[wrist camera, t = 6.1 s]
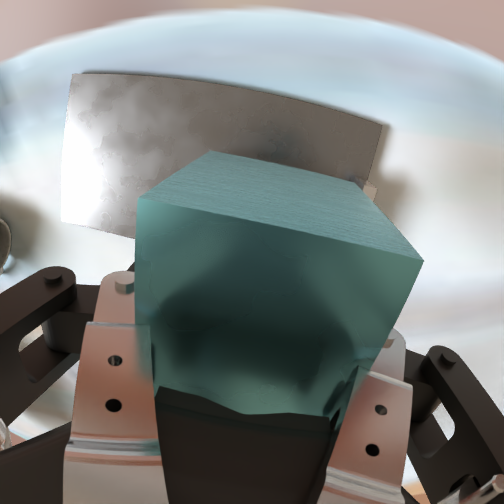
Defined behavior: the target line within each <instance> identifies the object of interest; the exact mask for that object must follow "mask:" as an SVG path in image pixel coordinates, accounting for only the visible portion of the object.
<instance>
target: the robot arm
mask: <svg viewBox="0 0 504 504" xmlns="http://www.w3.org/2000/svg"><path fill="white" fill-rule="evenodd" d="M134 274H135V262H134V263H133V264H132V265H131V266H130V267H129V269H128V270H127V271H118V272H113V273H111V274H108V275H107V276H105V277H104V278H103V280H102V281H101V285H80V284H76V276H75V274H74V272H73V271H72V270H70V269H68V268H65V267H60V266H53V267H47V268H44V269H42V270H40V271H38V272H36V273H34V274H33V275H31V276H29V277H27V278H26V279H24V280H22V281H21V282H19V283H17V284H16V285H14V286H12V287H10V288H9V289H7V290H6V291H4V292H2V293H1V294H0V504H420V503H418V502H417V501H416V500H415V499H414V498H413V497H412V496H411V495H410V494H409V493H408V492H407V491H406V490H405V489H404V488H403V487H402V486H401V484H402V479H403V473H404V467H405V460H406V453H407V455H408V457H409V459H410V461H411V463H412V465H413V467H414V469H415V471H416V473H417V475H418V478H419V480H420V482H421V484H422V486H423V488H424V490H425V492H426V495H427V497H428V499H429V501H430V503H431V504H504V416H503V415H502V413H501V412H500V410H499V409H498V407H497V406H496V405H495V403H494V402H493V400H492V399H491V398H490V396H489V395H488V393H487V392H486V391H485V389H484V388H483V387H482V385H481V384H480V382H479V381H478V380H477V378H476V377H475V376H474V374H473V373H472V372H471V370H470V369H469V368H468V367H467V365H466V364H465V363H464V361H463V360H462V359H461V358H460V356H459V355H458V354H457V353H455V352H454V351H453V350H451V349H449V348H447V347H444V346H439V345H438V346H433V347H431V348H430V350H429V351H428V353H427V354H426V356H424V355H421V354H418V353H415V352H413V351H410V350H407V349H406V342H405V340H404V338H403V336H402V335H401V334H400V333H399V332H398V331H397V330H395V329H394V328H392V330H391V332H390V334H389V336H388V338H387V340H386V342H385V344H384V345H383V347H382V349H381V351H380V353H379V355H378V356H377V358H376V360H375V362H374V363H373V365H372V367H371V369H367V368H365V367H362V366H359V365H357V366H356V368H354V369H353V370H352V372H351V374H350V376H349V378H348V379H347V381H346V383H345V385H344V388H343V390H342V392H341V394H340V396H339V398H338V399H337V401H336V403H335V404H334V406H333V408H332V409H331V411H330V412H329V414H328V416H327V417H325V416H315V415H306V414H298V413H290V412H287V413H272V414H242V413H239V412H237V411H234V410H232V409H229V408H227V407H225V406H222V405H220V404H218V403H215V402H213V401H211V400H209V399H206V398H204V397H202V396H198V395H194V394H190V393H186V392H182V391H178V390H174V389H170V388H167V387H163V386H159V388H158V391H157V393H156V396H155V397H154V390H153V376H152V360H151V338H150V324H135V303H134ZM39 325H41V326H42V330H43V334H42V335H41V336H40V337H39V338H37V339H36V340H35V341H33V342H32V343H31V344H29V345H28V346H27V347H26V348H24V349H23V350H22V351H21V352H19V351H18V348H19V344H20V342H21V340H22V339H23V337H25V336H26V335H27V334H29V333H30V332H31V331H33V330H34V329H35V328H37V327H38V326H39ZM78 360H80V361H79V367H78V374H77V381H76V388H75V396H74V405H73V414H72V421H71V422H69V423H67V424H64V425H62V426H60V427H57V428H55V429H53V430H51V431H48V432H46V433H44V434H41V435H39V436H37V437H34V438H32V439H29V440H27V441H24V442H22V443H20V444H17V445H15V446H12V447H10V448H7V449H4V443H3V442H4V440H5V437H6V428H7V427H8V426H9V425H10V424H11V423H12V422H13V421H14V420H15V419H16V418H17V417H18V416H19V415H20V414H21V413H22V412H23V411H24V410H25V409H26V408H28V407H29V406H30V405H31V404H32V403H33V402H34V401H35V400H36V399H37V398H38V397H39V396H40V395H41V394H42V393H44V392H45V391H46V390H47V389H48V388H49V387H50V386H51V385H52V384H53V383H54V382H55V381H57V380H58V379H59V378H60V377H61V376H62V375H63V374H64V373H65V372H66V371H67V370H69V369H70V368H71V367H72V366H73V365H74V364H75V363H76V362H77V361H78ZM441 402H442V404H443V405H444V407H445V408H446V410H447V411H448V413H449V415H450V416H451V418H452V420H453V421H454V424H455V431H454V434H453V436H452V437H451V438H450V439H449V440H447V438H446V436H445V435H444V433H443V431H442V429H441V428H440V426H439V424H438V423H437V421H436V419H435V418H434V416H433V414H432V413H433V412H434V411H435V409H436V408H437V407H438V406H439V404H440V403H441Z"/></svg>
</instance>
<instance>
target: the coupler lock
mask: <svg viewBox="0 0 504 504" xmlns="http://www.w3.org/2000/svg"><path fill="white" fill-rule="evenodd" d="M423 262H424V260H423V259H422V257H421V256H420V255H419V254H418V253H417V251H416V250H415V249H414V248H413V247H412V245H411V244H410V243H409V242H408V241H407V240H406V238H405V237H404V236H403V235H402V234H401V233H400V231H399V230H398V229H397V228H396V227H395V226H394V225H393V223H392V222H391V221H390V220H389V219H388V218H387V217H386V216H385V214H384V213H383V212H382V211H381V210H380V209H379V208H378V207H377V206H376V205H375V204H374V203H373V201H372V200H371V199H370V198H369V197H368V196H367V195H366V194H365V193H364V192H363V191H362V190H361V189H360V188H359V187H358V186H357V185H356V184H355V183H354V182H350V181H347V180H343V179H339V178H335V177H331V176H327V175H323V174H319V173H315V172H311V171H307V170H303V169H299V168H294V167H290V166H286V165H281V164H277V163H272V162H267V161H263V160H258V159H253V158H248V157H243V156H238V155H232V154H227V153H221V152H216V151H209V152H208V153H206V154H204V155H203V156H201V157H199V158H198V159H196V160H195V161H193V162H191V163H190V164H188V165H187V166H185V167H184V168H182V169H180V170H179V171H177V172H176V173H174V174H173V175H171V176H170V177H168V178H167V179H165V180H164V181H162V182H161V183H159V184H158V185H156V186H155V187H153V188H152V189H150V190H149V191H147V192H146V193H144V194H143V195H141V196H140V197H139V198H138V202H137V217H136V237H135V274H134V303H135V324H150V338H151V360H152V376H153V390H154V397H155V396H156V393H157V391H158V388H159V386H163V387H167V388H170V389H174V390H178V391H182V392H186V393H190V394H194V395H198V396H202V397H204V398H206V399H209V400H211V401H213V402H215V403H218V404H220V405H222V406H225V407H227V408H229V409H232V410H234V411H237V412H239V413H242V414H272V413H287V412H290V413H298V414H306V415H315V416H325V417H327V416H328V414H329V412H330V411H331V409H332V408H333V406H334V404H335V403H336V401H337V399H338V398H339V396H340V394H341V392H342V390H343V388H344V385H345V383H346V381H347V379H348V378H349V376H350V374H351V372H352V370H353V369H354V368H356V366H357V365H359V366H362V367H365V368H367V369H371V367H372V365H373V363H374V362H375V360H376V358H377V356H378V355H379V353H380V351H381V349H382V347H383V345H384V344H385V342H386V340H387V338H388V336H389V334H390V332H391V330H392V328H393V326H394V325H395V323H396V321H397V319H398V317H399V315H400V313H401V311H402V308H403V306H404V304H405V302H406V300H407V298H408V296H409V294H410V292H411V289H412V287H413V285H414V283H415V281H416V278H417V276H418V274H419V271H420V269H421V267H422V264H423Z"/></svg>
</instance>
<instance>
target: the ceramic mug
mask: <svg viewBox="0 0 504 504" xmlns="http://www.w3.org/2000/svg"><path fill="white" fill-rule="evenodd" d="M10 247H11V232H10V229H9V227H8V225H7V223H6V222H4V221H3V220H2V219H0V275H1V274H2V273H3V266H4V264H5V262H6V260H7V258H8V255H9V252H10Z"/></svg>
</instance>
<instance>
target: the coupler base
mask: <svg viewBox="0 0 504 504" xmlns="http://www.w3.org/2000/svg"><path fill="white" fill-rule="evenodd" d="M381 129H382V125H380V124H377V123H374V122H371V121H368V120H365V119H362V118H359V117H356V116H352V115H349V114H346V113H343V112H339V111H336V110H333V109H329V108H326V107H322V106H318V105H315V104H311V103H307V102H303V101H299V100H295V99H291V98H287V97H282V96H278V95H273V94H269V93H264V92H259V91H254V90H249V89H244V88H238V87H233V86H227V85H220V84H214V83H207V82H200V81H192V80H184V79H175V78H165V77H154V76H140V75H122V74H72V79H71V85H70V92H69V99H68V106H67V114H66V123H65V133H64V145H63V161H62V188H61V217H62V221H65V222H69V223H73V224H77V225H81V226H85V227H89V228H93V229H97V230H101V231H105V232H109V233H113V234H117V235H121V236H125V237H129V238H133V239H135V237H136V217H137V202H138V198H139V197H140V196H141V195H143V194H144V193H146V192H147V191H149V190H150V189H152V188H153V187H155V186H156V185H158V184H159V183H161V182H162V181H164V180H165V179H167V178H168V177H170V176H171V175H173V174H174V173H176V172H177V171H179V170H180V169H182V168H184V167H185V166H187V165H188V164H190V163H191V162H193V161H195V160H196V159H198V158H199V157H201V156H203V155H204V154H206V153H208V152H209V151H216V152H221V153H227V154H232V155H238V156H243V157H248V158H253V159H258V160H263V161H267V162H272V163H277V164H281V165H286V166H290V167H294V168H299V169H303V170H307V171H311V172H315V173H319V174H323V175H327V176H331V177H335V178H339V179H343V180H347V181H350V182H354V183H355V184H356V185H357V186H358V187H359V188H360V189H361V190H362V191H363V192H364V193H365V194H366V195H367V196H368V197H369V198H370V199H371V200H372V201H373V202H374V199H375V196H376V192H377V188H376V187H374V186H373V185H372V184H371V183H370V182H369V181H367V179H368V175H369V172H370V168H371V165H372V161H373V158H374V154H375V151H376V147H377V144H378V140H379V136H380V132H381Z"/></svg>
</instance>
